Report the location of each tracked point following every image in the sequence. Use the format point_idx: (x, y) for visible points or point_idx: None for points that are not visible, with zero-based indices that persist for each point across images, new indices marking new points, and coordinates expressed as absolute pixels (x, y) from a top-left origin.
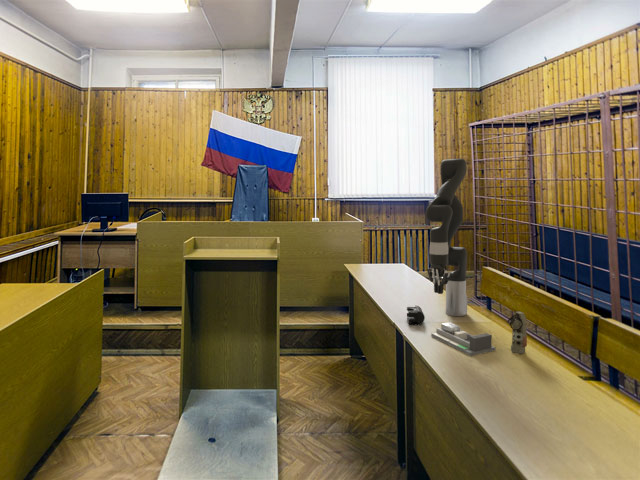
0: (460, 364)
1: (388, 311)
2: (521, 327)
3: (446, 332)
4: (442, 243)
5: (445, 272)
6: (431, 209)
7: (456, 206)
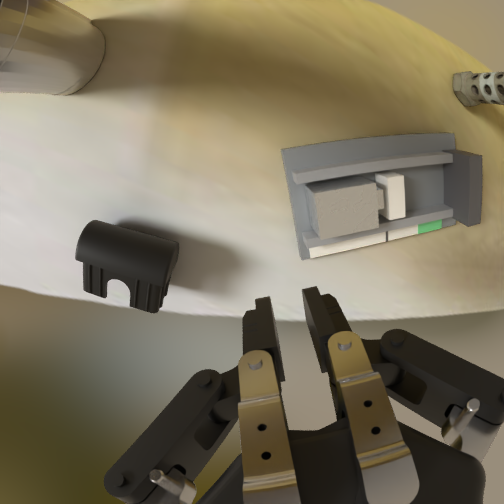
0: (462, 265)
1: (40, 289)
2: None
3: (359, 233)
4: None
5: (470, 448)
6: None
7: None
